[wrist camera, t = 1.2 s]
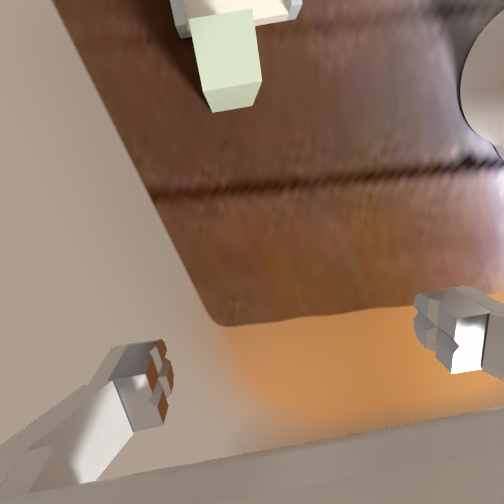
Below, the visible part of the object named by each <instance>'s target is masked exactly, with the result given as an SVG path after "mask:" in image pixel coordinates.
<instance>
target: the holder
mask: <svg viewBox="0 0 504 504" xmlns="http://www.w3.org/2000/svg"><path fill="white" fill-rule="evenodd" d="M170 3H171V8H172V12H173V17H174V22H175V26H176V29H177V31H178V33H179V35H180V38H181V39H182V38H188V37H192V34H191V29H190V24H189V19H192V18H198V17H204V16H210V15H216V14H222V13H227V12H233V11H239V10H245V9H251V8H252V10H253V17H254V25H255V26H257V25H263V24H269V23H275V22H281V21H286V20H292V19H296V17H297V15H298V13H299V10H300V8H301V6H302V0H170Z"/></svg>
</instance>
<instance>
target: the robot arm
mask: <svg viewBox="0 0 504 504" xmlns="http://www.w3.org/2000/svg"><path fill="white" fill-rule="evenodd" d="M460 97H461V105H462V109H463V113H464V115H465V118H466V120H467V122H468V124H469V125H470V127H471V128H472V129H473V130H474V131H475V132H476V133H477V134H478V135H479V136H481V137H482V138H484V139H485V140H487V141H489V142H490V143H492V144H493V145H494V146H495V148H496V150H497V152H498V153H499V155H500V157H501V158H502V159H503V160H504V9H503V10H502V11H501V12H500V13H499V14H498V15H497V16H496V17H494V18H493V19H492V20H491V21H490V22H489V23H488V25H487V26H486V27H485V28H484V29H483V31H482V32H481V33H480V35H479V36H478V37H477V39H476V41H475V42H474V44H473V46H472V48H471V50H470V52H469V54H468V57H467V59H466V62H465V65H464V69H463V73H462V78H461V86H460ZM414 307H415V308H416V309H417V310H418V314H417V315H416V317H415V318H414V330H415V333H416V336H417V338H418V339H419V341H420V342H421V344H423V346H424V347H426V348H428V349H430V350H432V351H435V352H436V358H437V359H438V360H439V361H440V362H441V363H442V364H443V365H444V366H445V367H446V368H447V369H448V370H449V371H450V372H451V373H458V372H465V371H471V370H478V369H482V371H484V372H486V373H488V374H490V375H492V376H494V377H497V378H499V379H500V380H503V381H504V304H501V303H500V302H498V301H496V300H494V299H492V298H491V297H489V296H487V295H485V294H483V293H481V292H480V291H478V290H476V289H474V288H472V287H470V286H466V285H462V286H457V287H452V288H448V289H444V290H438V291H433V292H428V293H423V294H418V295H416V298H415V301H414ZM166 352H167V349H166V346H165V343H164V341H163V340H162V339H158V340H152V341H145V342H139V343H132V344H126V345H120V346H115V347H113V348H111V349H110V351H109V352H108V354H107V355H106V357H105V358H104V360H103V362H102V363H101V365H100V367H99V368H98V370H97V371H96V373H95V374H94V376H93V377H92V379H91V381H90V382H89V384H88V385H83V386H81V387H80V388H79V389H77V390H76V391H74V392H73V393H72V394H70V395H69V396H68V397H67V398H65V399H64V400H62V401H61V402H59V403H58V404H57V405H55V406H54V407H52V408H51V409H50V410H48V411H47V412H45V413H44V414H43V415H42V416H40V417H39V418H37V419H36V420H34V421H33V422H32V423H30V424H29V425H28V426H26V427H25V428H24V429H22V430H21V431H19V432H18V433H17V434H15V435H14V436H12V437H11V438H10V439H8V440H7V441H6V442H4V443H3V444H1V445H0V504H504V406H503V407H497V408H491V409H485V410H480V411H474V412H469V413H463V414H458V415H452V416H447V417H441V418H436V419H431V420H424V421H419V422H413V423H408V424H403V425H397V426H391V427H386V428H381V429H375V430H370V431H364V432H359V433H353V434H348V435H343V436H337V437H332V438H327V439H321V440H315V441H310V442H305V443H299V444H294V445H288V446H283V447H277V448H273V449H267V450H261V451H256V452H250V453H245V454H240V455H234V456H228V457H223V458H218V459H212V460H207V461H201V462H196V463H190V464H185V465H180V466H174V467H168V468H163V469H158V470H152V471H147V472H141V473H136V474H131V475H125V476H120V477H114V478H109V479H103V480H98V481H96V479H97V478H98V477H99V476H100V474H101V473H102V472H103V471H104V469H105V468H106V467H107V466H108V464H109V463H110V462H111V461H112V459H113V458H114V457H115V456H116V454H117V453H118V452H119V451H120V450H121V448H122V447H123V446H124V445H125V443H126V442H127V441H128V440H129V438H130V437H131V436H132V435H133V432H134V431H139V430H144V429H149V428H153V427H158V426H163V425H164V421H165V417H166V414H167V410H168V406H169V405H168V402H167V398H168V396H169V395H170V394H171V393H172V389H173V378H174V375H173V369H172V365H171V362H170V361H169V360H167V359H166V358H165V355H166Z"/></svg>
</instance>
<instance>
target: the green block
mask: <svg viewBox="0 0 504 504" xmlns="http://www.w3.org/2000/svg"><path fill="white" fill-rule="evenodd" d="M189 24H190V29H191V34H192V39H193V44H194V49H195V54H196V59H197V64H198V69H199V74H200V79H201V85H202V90H203V93H204V95H205V97H206V99H207V102H208V104H209V106H210V108H211V111H212V113H213V112H219V111H225V110H231V109H236V108H242V107H248V106H252V105H253V103H254V100H255V98H256V95H257V93H258V90H259V88H260V85H261V83H262V76H261V69H260V62H259V54H258V47H257V40H256V32H255V25H254V17H253V10H252V8H251V9H245V10H239V11H233V12H227V13H222V14H216V15H210V16H204V17H198V18H192V19H189Z"/></svg>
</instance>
